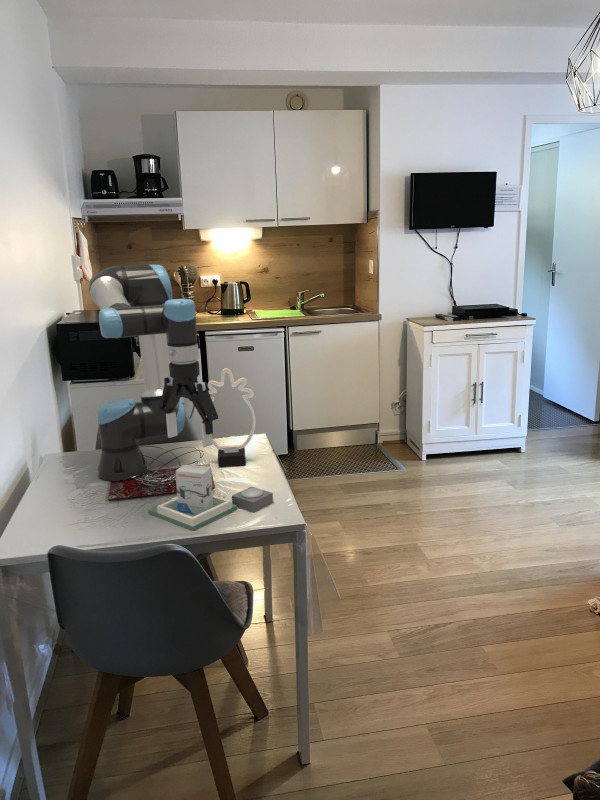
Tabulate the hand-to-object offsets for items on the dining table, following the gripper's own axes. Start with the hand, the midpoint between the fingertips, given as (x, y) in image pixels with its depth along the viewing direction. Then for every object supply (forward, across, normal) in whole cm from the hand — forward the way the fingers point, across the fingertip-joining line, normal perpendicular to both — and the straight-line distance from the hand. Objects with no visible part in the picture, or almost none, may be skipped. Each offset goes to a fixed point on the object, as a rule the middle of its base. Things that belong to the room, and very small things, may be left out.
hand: (189, 441), depth 169 cm
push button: (+21, +8, +14) cm, 26 cm away
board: (+21, -2, +1) cm, 21 cm away
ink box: (+20, 0, 0) cm, 20 cm away
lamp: (+21, -21, +35) cm, 46 cm away
